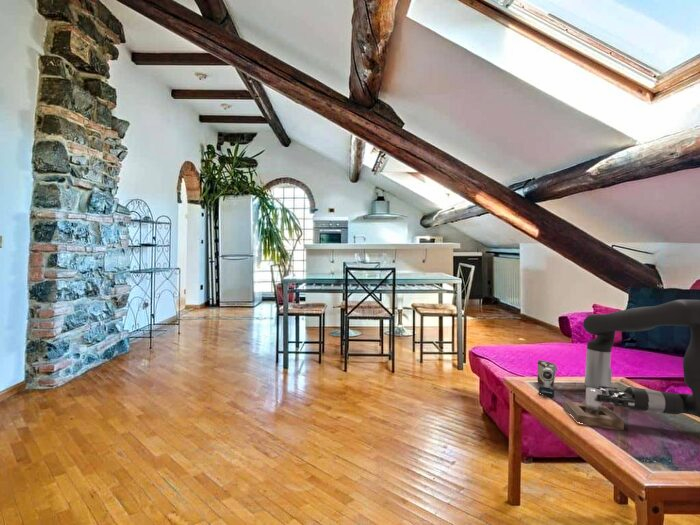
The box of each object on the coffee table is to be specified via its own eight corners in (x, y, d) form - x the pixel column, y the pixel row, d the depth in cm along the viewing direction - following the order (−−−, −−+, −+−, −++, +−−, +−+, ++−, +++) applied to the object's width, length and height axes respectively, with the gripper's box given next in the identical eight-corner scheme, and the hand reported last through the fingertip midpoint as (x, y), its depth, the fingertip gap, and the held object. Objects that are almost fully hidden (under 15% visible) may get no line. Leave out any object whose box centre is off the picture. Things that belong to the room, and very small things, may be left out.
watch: (538, 395, 155) (540, 369, 155) (539, 390, 162) (541, 365, 162) (553, 398, 152) (555, 371, 152) (554, 393, 159) (556, 367, 159)
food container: (560, 391, 162) (562, 368, 162) (545, 389, 163) (547, 366, 163) (550, 382, 174) (551, 361, 174) (536, 381, 175) (537, 359, 175)
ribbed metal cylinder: (597, 415, 135) (598, 388, 135) (602, 421, 130) (604, 392, 130) (582, 413, 136) (583, 386, 136) (587, 419, 132) (589, 390, 132)
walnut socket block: (605, 415, 139) (605, 406, 139) (623, 431, 125) (624, 421, 125) (563, 409, 142) (564, 400, 142) (577, 425, 128) (577, 415, 128)
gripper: (634, 382, 137) (585, 377, 140) (656, 396, 123) (601, 389, 127) (633, 403, 137) (583, 397, 140) (655, 418, 123) (599, 411, 127)
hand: (592, 393), depth 134 cm, fingers open, 8 cm apart
